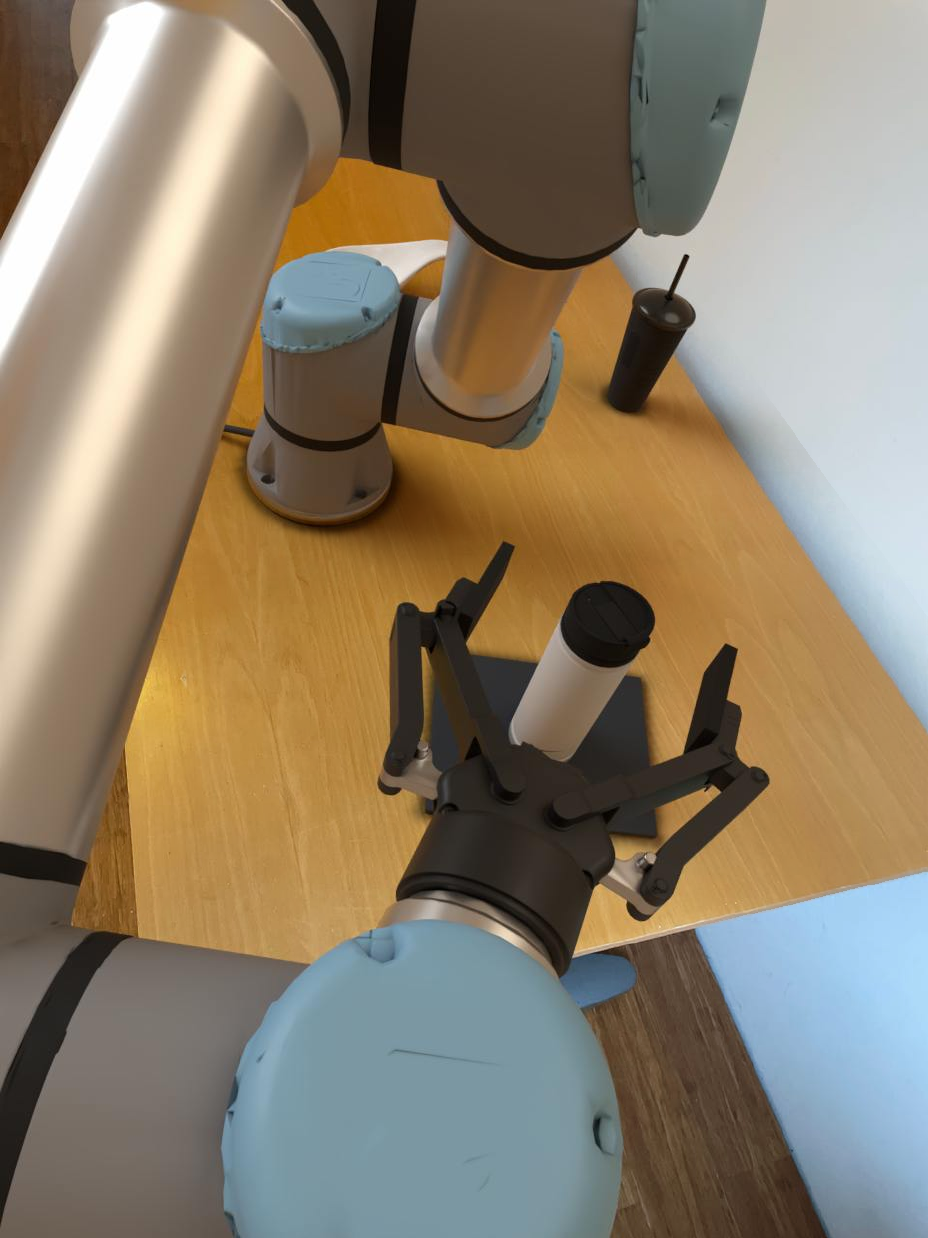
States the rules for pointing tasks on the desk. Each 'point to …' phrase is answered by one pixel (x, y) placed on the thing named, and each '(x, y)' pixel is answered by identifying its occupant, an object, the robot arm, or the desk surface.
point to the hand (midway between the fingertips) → (610, 609)
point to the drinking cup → (649, 342)
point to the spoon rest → (403, 256)
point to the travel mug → (582, 667)
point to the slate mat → (600, 755)
